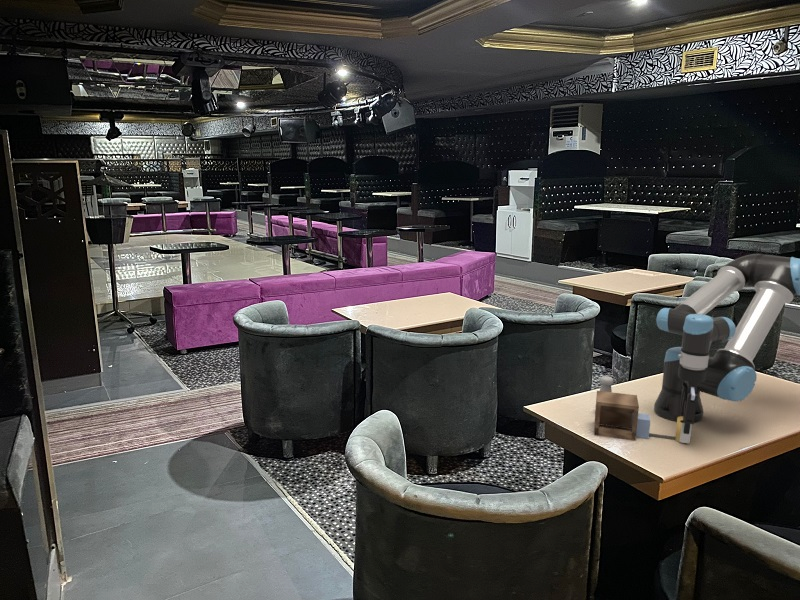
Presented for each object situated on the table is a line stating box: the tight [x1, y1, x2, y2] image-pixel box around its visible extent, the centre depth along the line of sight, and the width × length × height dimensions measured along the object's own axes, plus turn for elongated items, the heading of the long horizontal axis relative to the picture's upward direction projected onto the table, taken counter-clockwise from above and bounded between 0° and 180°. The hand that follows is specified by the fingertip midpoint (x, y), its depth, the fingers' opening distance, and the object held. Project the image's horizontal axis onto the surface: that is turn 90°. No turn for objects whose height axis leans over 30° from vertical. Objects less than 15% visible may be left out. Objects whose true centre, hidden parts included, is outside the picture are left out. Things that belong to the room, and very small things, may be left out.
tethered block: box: [630, 412, 683, 443], centre depth 182 cm, size 16×5×7 cm, turn 71°
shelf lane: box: [593, 390, 640, 441], centre depth 186 cm, size 12×10×11 cm
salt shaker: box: [594, 375, 614, 408], centre depth 200 cm, size 6×6×13 cm
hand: (683, 439), depth 181 cm, fingers closed on tethered block, 3 cm apart
